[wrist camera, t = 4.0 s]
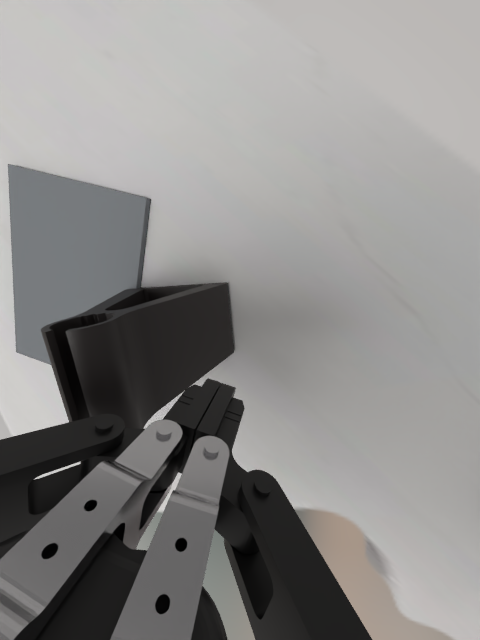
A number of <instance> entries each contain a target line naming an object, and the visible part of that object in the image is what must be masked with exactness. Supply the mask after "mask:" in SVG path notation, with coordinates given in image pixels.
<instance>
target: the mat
mask: <svg viewBox="0 0 480 640" xmlns="http://www.w3.org/2000/svg"><path fill="white" fill-rule="evenodd" d="M8 177H9V199H10V222H11V245H12V267H13V290H14V313H15V335H16V352H17V353H20V354H23V355H25V356H28V357H31V358H34V359H36V360H39V361H42V362H45V363H47V364H50V365H51V362H50V359H49V355H48V352H47V349H46V346H45V342H44V339H43V336H42V333H41V328H43V327H44V326H46V325H48V324H51V323H54V322H57V321H60V320H64V319H67V318H70V317H73V316H76V315H79V314H81V313H83V312H85V311H87V310H89V309H91V308H93V307H94V306H96V305H98V304H100V303H102V302H104V301H105V300H107V299H109V298H111V297H113V296H114V295H116V294H118V293H120V292H122V291H124V290H126V289H137V288H140V286H141V277H142V269H143V260H144V251H145V243H146V234H147V226H148V217H149V208H150V200H151V199H148V198H145V197H141V196H137V195H133V194H129V193H125V192H121V191H116V190H112V189H108V188H104V187H100V186H96V185H92V184H88V183H84V182H80V181H75V180H71V179H67V178H63V177H59V176H55V175H51V174H47V173H43V172H39V171H35V170H30V169H26V168H22V167H18V166H14V165H10V164H8Z"/></svg>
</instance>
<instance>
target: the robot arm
mask: <svg viewBox="0 0 480 640" xmlns="http://www.w3.org/2000/svg"><path fill="white" fill-rule="evenodd" d="M235 389H236V388H235V387H232V386H229V385H226V384H223V383H222V384H221V383H220V382H217V381H214V380H211V379H207V380H206V381H205V383H204V384H203V386H202V387H201V386H198V385H193V386H191V387H189V388H187V389H186V390H185V391H184V393H183V394H182V396H180V398H179V399H178V401H177V402H176V403H175V404H174V405H173V407H172V408H171V409H170V411H169V412H168V413H167V414H166V416H165V417H164V418H163V420H158V421H155V422H153V423H151V424H150V425H149V426H148V427H147V428H146V429H133V428H125V423H124V421H123V419H122V418H121V417H119V416H117V415H114V414H101V415H97V416H93V417H89V418H85V419H81V420H77V421H73V422H69V423H65V424H61V425H57V426H53V427H49V428H45V429H42V430H38V431H34V432H30V433H26V434H22V435H18V436H14V437H10V438H6V439H2V440H0V640H227V636H226V632H225V629H224V625H223V622H222V620H221V617H220V614H219V612H218V610H217V608H216V605H215V603H214V602H213V600H212V598H211V597H210V595H209V593H208V592H207V591H206V590H205V589H204V587H203V586H202V585H203V580H204V576H205V571H206V566H207V561H208V557H209V552H210V547H211V543H212V538H213V533H214V529H215V530H216V531H217V532H218V533H219V534H221V536H223V537H224V545H225V549H226V552H227V555H228V558H229V561H230V564H231V567H232V570H233V573H234V576H235V579H236V582H237V585H238V588H239V591H240V594H241V597H242V600H243V603H244V606H245V609H246V612H247V615H248V618H249V621H250V624H251V627H252V630H253V633H254V636H255V639H256V640H372V639H371V637H370V635H369V633H368V632H367V630H366V629H365V627H364V625H363V624H362V622H361V620H360V618H359V617H358V615H357V613H356V612H355V610H354V609H353V607H352V605H351V604H350V602H349V600H348V599H347V597H346V595H345V594H344V592H343V590H342V589H341V587H340V585H339V584H338V582H337V581H336V579H335V577H334V575H333V574H332V572H331V570H330V569H329V567H328V565H327V564H326V562H325V560H324V559H323V557H322V555H321V554H320V552H319V550H318V549H317V547H316V545H315V544H314V542H313V540H312V539H311V537H310V535H309V534H308V532H307V530H306V529H305V527H304V525H303V524H302V522H301V520H300V519H299V517H298V515H297V514H296V512H295V510H294V509H293V507H292V505H291V504H290V502H289V500H288V499H287V497H286V495H285V494H284V492H283V490H282V489H281V487H280V485H279V484H278V482H277V481H276V479H275V478H274V477H273V476H271V475H270V474H269V473H267V472H265V471H261V470H252V471H250V472H246V471H245V470H244V469H242V468H241V467H240V466H239V465H238V464H237V463H236V461H235V460H234V458H233V455H232V448H233V444H234V441H235V438H236V435H237V432H238V428H239V425H240V421H241V418H242V415H243V411H244V405H243V401H242V400H239V399H236V398H233V396H234V393H235ZM80 461H81V464H79V465H76V466H74V467H71V468H68V469H65V470H62V471H59V472H57V473H54V474H51V475H48V476H45V477H42V478H40V479H35V478H36V477H38V476H40V475H42V474H45V473H48V472H51V471H54V470H56V469H59V468H62V467H65V466H68V465H71V464H74V463H77V462H80ZM178 472H179V473H182V475H181V478H180V480H179V483H178V485H177V487H176V490H175V491H174V490H173V492H172V494H171V496H170V498H169V500H168V503H167V505H166V507H165V510H164V512H163V515H162V517H161V519H160V522H159V524H158V527H157V529H156V531H155V534H154V537H153V539H152V541H151V543H150V546H149V548H148V551H146V550H136V547H137V545H138V543H139V541H140V539H141V537H142V535H143V534H144V532H145V530H146V529H147V527H148V525H149V524H150V522H151V520H152V519H153V517H154V516H155V514H156V512H157V511H158V509H159V507H160V506H161V504H162V503H163V501H164V499H165V498H166V496H167V494H168V493H169V491H170V489H171V486H172V483H173V481H174V479H175V477H176V475H177V473H178ZM33 479H35V480H33Z"/></svg>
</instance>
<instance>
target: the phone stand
mask: <svg viewBox="0 0 480 640" xmlns="http://www.w3.org/2000/svg"><path fill="white" fill-rule="evenodd" d="M41 333H42V336H43V339H44V342H45V346H46V349H47V352H48V355H49V359H50V362H51V365H52V368H53V371H54V375H55V378H56V381H57V384H58V388H59V391H60V394H61V397H62V400H63V404H64V407H65V410H66V413H67V416H68V420H69V422H73V421H77V420H81V419H85V418H89V417H93V416H97V415H101V414H114V415H117V416H119V417H121V418H122V419H123V421H124V423H125V428H133V429H143V428H144V426H145V424H146V423H147V421H148V420H149V419H150V418H151V417H152V416H153V415H154V414H155V413H156V412H157V411H158V410H160V409H161V408H162V407H164V406H165V405H166V404H167V403H169V402H170V401H171V400H173V399H174V398H175V397H176V396H178V395H179V394H180V393H182V392H183V391H184V390H186V389H187V388H188V387H189V386H191V385H192V384H193V383H195V382H196V381H197V380H199V379H200V378H201V377H202V376H204V375H205V374H206V373H208V372H209V371H210V370H212V369H213V368H214V367H215V366H217V365H218V364H219V363H221V362H222V361H223V360H225V359H226V358H227V357H228V356H230V355H231V354H232V353H234V348H233V337H232V327H231V317H230V306H229V296H228V286H227V283H213V284H198V285H182V286H167V287H152V288H137V289H126V290H124V291H122V292H120V293H118V294H116V295H114V296H113V297H111V298H109V299H107V300H105V301H104V302H102V303H100V304H98V305H96V306H94V307H93V308H91V309H89V310H87V311H85V312H83V313H81V314H79V315H76V316H73V317H70V318H67V319H64V320H60V321H57V322H54V323H51V324H48V325H46V326H44V327H43V328H41Z"/></svg>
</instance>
